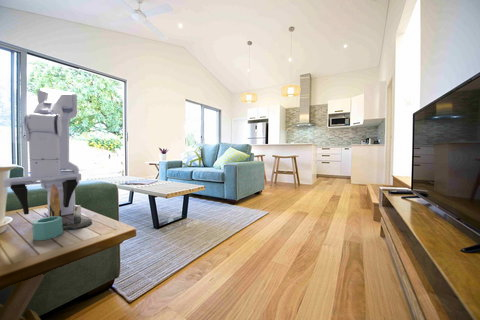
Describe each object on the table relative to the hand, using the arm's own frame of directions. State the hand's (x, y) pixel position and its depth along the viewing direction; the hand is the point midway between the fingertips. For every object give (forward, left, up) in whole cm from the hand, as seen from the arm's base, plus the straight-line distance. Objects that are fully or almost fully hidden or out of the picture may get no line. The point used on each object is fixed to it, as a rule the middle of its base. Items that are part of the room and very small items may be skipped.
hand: (47, 209), depth 52 cm
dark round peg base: (-3, +7, -7) cm, 10 cm away
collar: (0, 0, -7) cm, 7 cm away
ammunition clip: (-10, +3, -7) cm, 13 cm away
